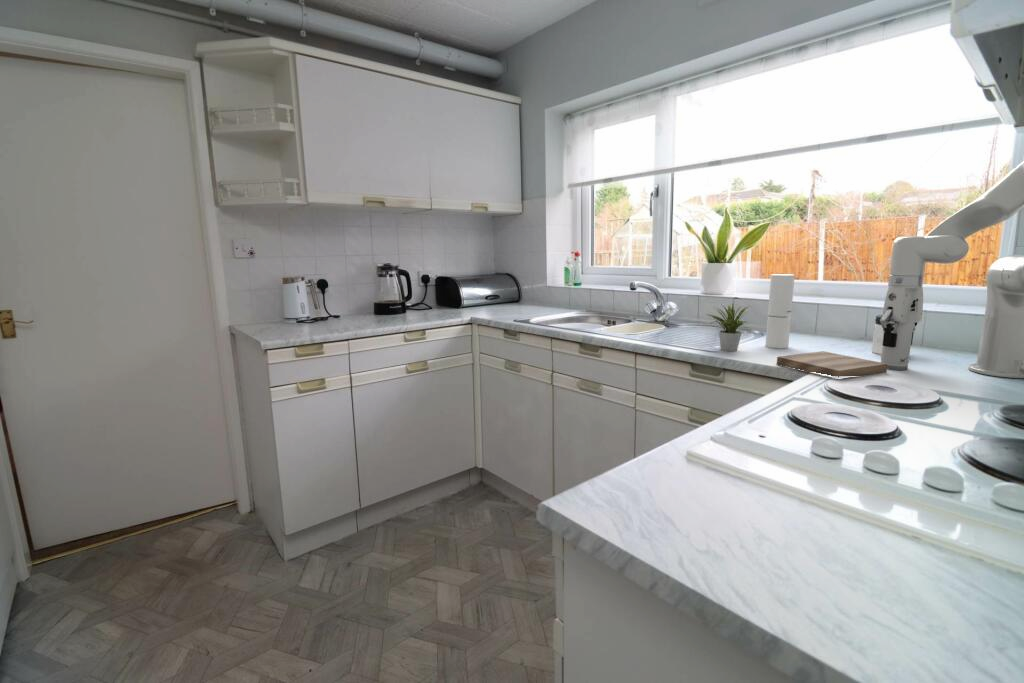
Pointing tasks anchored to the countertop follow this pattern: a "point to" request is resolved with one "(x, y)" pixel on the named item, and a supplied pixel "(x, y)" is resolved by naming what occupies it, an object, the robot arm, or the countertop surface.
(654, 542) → the countertop surface
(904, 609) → the countertop surface
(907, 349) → the travel mug
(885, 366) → the walnut board
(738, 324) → the house plant
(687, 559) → the countertop surface
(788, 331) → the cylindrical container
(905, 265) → the robot arm
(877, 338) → the jar
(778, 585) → the countertop surface
